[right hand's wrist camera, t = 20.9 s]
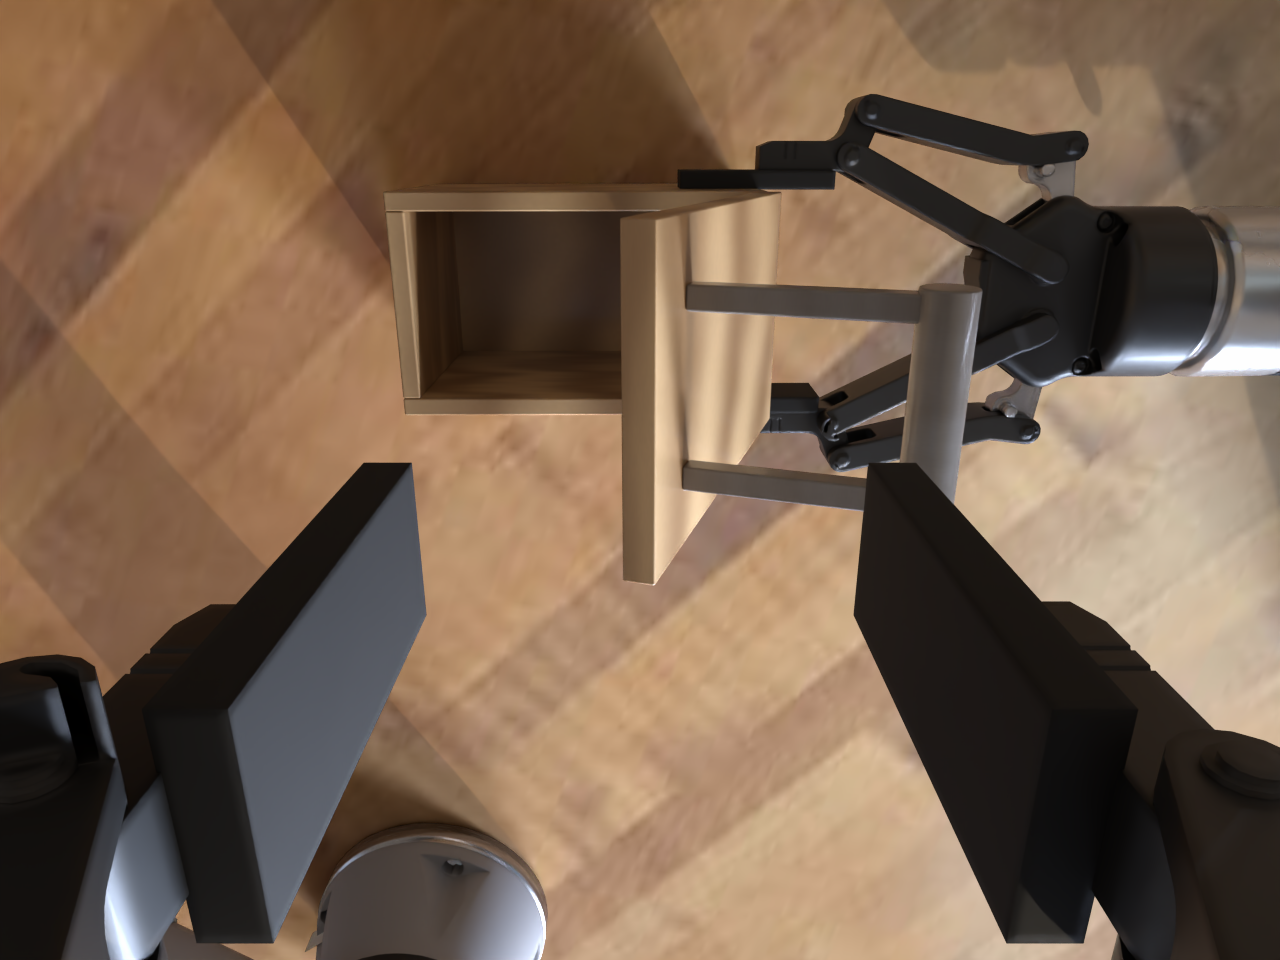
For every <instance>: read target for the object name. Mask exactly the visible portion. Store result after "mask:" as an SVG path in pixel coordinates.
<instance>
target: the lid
mask: <svg viewBox="0 0 1280 960" xmlns="http://www.w3.org/2000/svg"><path fill="white" fill-rule="evenodd" d="M780 210H781V192H756V193H751V194H745V195H740V196H735V197H729V198H724V199H719V200H713V201H708V202H703V203H698V204H692V205H687V206H682V207H676V208H671V209H666V210H660V211H655V212H650V213H644V214H639V215H634V216H629V217H623V218H621V219H620V273H621V390H622V507H623V580H624V581H628V582H634V583H641V584H647V585H655V584H656V582H657V581H658V579H659V578H660V577H661V575H662V574H663V572H664V571H665V569H666V568H667V566H668V565H669V564H670V562H671V561H672V559H673V558H674V556H675V555H676V553H677V552H678V550H679V549H680V548H681V546H682V545H683V543H684V542H685V540H686V539H687V537H688V536H689V535H690V533H691V532H692V530H693V529H694V527H695V526H696V524H697V523H698V521H699V520H700V519H701V517H702V516H703V514H704V513H705V511H706V510H707V508H708V507H709V506H710V504H711V503H712V501H713V500H714V498H715V497H716V495H717V494H720V495H728V496H737V497H745V498H754V499H762V500H771V501H780V502H788V503H797V504H805V505H814V506H822V507H831V508H839V509H848V510H856V511H864V502H865V492H866V481H867V479H865V478H856V477H847V476H837V475H828V474H818V473H809V472H800V471H790V470H781V469H771V468H762V467H753V466H743V465H738V463H739V462H740V461H741V459H742V458H743V456H744V455H745V453H746V452H747V450H748V449H749V448H750V446H751V445H752V443H753V442H754V440H755V439H756V437H757V436H758V434H759V433H760V432H761V430H762V429H763V427H764V426H765V424H766V423H767V421H768V420H769V418H770V399H771V381H772V362H773V343H774V324H775V316H780V317H798V318H817V319H835V320H854V321H872V322H891V323H909V324H915V326H914V335H913V345H912V354H911V363H910V372H909V381H908V391H907V400H906V409H905V418H904V427H903V436H902V446H901V455H900V463H917V464H918V465H919V466H920V468H921V469H922V470H923V471H924V472H925V473H926V474H927V475H928V476H929V478H930V479H931V480H932V481H933V482H934V483H935V484H936V485H937V486H938V488H939V489H940V490H941V491H942V492H943V493H944V494H945V495H946V496H947V498H948V499H949V500H950V501H951V502H952V503H953V504H954V500H955V492H956V485H957V478H958V470H959V463H960V455H961V448H962V440H963V433H964V425H965V418H966V411H967V403H968V396H969V388H970V381H971V373H972V366H973V358H974V351H975V344H976V336H977V329H978V321H979V314H980V306H981V299H982V289H981V288H979V287H976V286H971V285H963V284H944V283H939V284H926V285H922V286H920V287H919V290H918V291H911V290H888V289H864V288H841V287H818V286H795V285H777V267H778V248H779V229H780Z"/></svg>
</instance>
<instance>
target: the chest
mask: <svg viewBox="0 0 1280 960" xmlns="http://www.w3.org/2000/svg"><path fill="white" fill-rule="evenodd" d="M677 185H678V184H436V185H428V186H421V187H414V188H407V189H400V190H393V191H386V192H384V193H383V196H384V206H385V211H387V212H386V213H385V215H386V225H387V236H388V246H389V256H390V266H391V276H392V286H393V296H394V307H395V317H396V327H397V337H398V347H399V357H400V368H401V378H402V388H403V397H404V408H405V414H406V415H622V390H621V273H620V219H621V218H623V217H629V216H634V215H639V214H644V213H650V212H655V211H660V210H666V209H671V208H676V207H682V206H687V205H692V204H698V203H703V202H708V201H713V200H719V199H724V198H729V197H735V196H740V195H745V194H751V193H756V192H767V191H764V190H760V189H680V188H678V187H677Z"/></svg>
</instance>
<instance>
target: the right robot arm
mask: <svg viewBox="0 0 1280 960" xmlns="http://www.w3.org/2000/svg"><path fill="white" fill-rule="evenodd" d="M425 617H426V605H425V595H424V585H423V574H422V564H421V554H420V543H419V533H418V523H417V512H416V502H415V492H414V481H413V471H412V463H363V464H362V465H361V467H360V468H359V469H358V470H357V471H356V472H355V473H354V474H353V475H352V476H351V478H350V479H349V480H348V481H347V482H346V483H345V484H344V485H343V486H342V488H341V489H340V490H339V491H338V492H337V493H336V494H335V495H334V496H333V498H332V499H331V500H330V501H329V502H328V503H327V504H326V505H325V506H324V508H323V509H322V510H321V511H320V512H319V513H318V514H317V515H316V516H315V518H314V519H313V520H312V521H311V522H310V523H309V524H308V525H307V526H306V527H305V529H304V530H303V531H302V532H301V533H300V534H299V535H298V536H297V537H296V539H295V540H294V541H293V542H292V543H291V544H290V545H289V546H288V547H287V549H286V550H285V551H284V552H283V553H282V554H281V555H280V556H279V557H278V559H277V560H276V561H275V562H274V563H273V564H272V565H271V566H270V567H269V569H268V570H267V571H266V572H265V573H264V574H263V575H262V576H261V577H260V579H259V580H258V581H257V582H256V583H255V584H254V585H253V586H252V587H251V588H250V590H249V591H248V592H247V593H246V594H245V595H244V596H243V597H242V598H241V600H240V601H239V602H238V603H237V604H211V605H209V606H207V607H205V608H203V609H202V610H200V611H198V612H196V613H195V614H193V615H191V616H189V617H187V618H186V619H184V620H182V621H180V622H178V623H177V624H175V625H174V626H173V627H172V628H171V629H170V630H169V631H168V632H167V633H166V634H165V635H164V636H163V637H162V638H161V639H160V640H159V641H158V642H157V643H156V644H155V645H154V646H153V647H152V648H151V649H150V654H145V655H144V656H143V657H142V658H141V659H140V660H139V661H138V662H137V663H136V664H135V665H134V666H133V667H132V668H131V672H130V674H125V675H124V676H123V677H122V678H121V679H120V680H119V681H118V682H117V683H116V684H115V685H114V686H113V687H112V688H111V689H110V690H109V691H108V692H107V693H106V694H105V695H104V696H103V697H102V693H101V689H100V685H99V681H98V677H97V673H96V669H95V666H93V665H92V664H90V663H88V662H87V661H85V660H84V659H82V658H79V657H72V656H65V655H46V656H34V657H25V658H21V659H17V660H13V661H9V662H5V663H0V960H253V959H251V958H249V957H247V956H245V955H243V954H241V953H239V952H236V951H234V950H232V949H230V948H228V947H226V946H224V945H222V944H220V943H274V941H275V939H276V937H277V935H278V932H279V930H280V928H281V926H282V924H283V922H284V920H285V917H286V915H287V913H288V911H289V909H290V907H291V905H292V902H293V900H294V898H295V896H296V894H297V892H298V890H299V887H300V885H301V883H302V881H303V879H304V877H305V874H306V872H307V870H308V868H309V866H310V864H311V862H312V859H313V857H314V855H315V853H316V851H317V849H318V847H319V844H320V842H321V840H322V838H323V836H324V834H325V832H326V829H327V827H328V825H329V823H330V821H331V819H332V817H333V814H334V812H335V810H336V808H337V806H338V804H339V802H340V799H341V797H342V795H343V793H344V791H345V789H346V786H347V784H348V782H349V780H350V778H351V776H352V774H353V771H354V769H355V767H356V765H357V763H358V761H359V759H360V756H361V754H362V752H363V750H364V748H365V746H366V744H367V741H368V739H369V737H370V735H371V733H372V731H373V729H374V726H375V724H376V722H377V720H378V718H379V716H380V714H381V711H382V709H383V707H384V705H385V703H386V701H387V698H388V696H389V694H390V692H391V690H392V688H393V686H394V683H395V681H396V679H397V677H398V675H399V673H400V671H401V668H402V666H403V664H404V662H405V660H406V658H407V656H408V653H409V651H410V649H411V647H412V645H413V643H414V641H415V638H416V636H417V634H418V632H419V630H420V628H421V626H422V623H423V621H424V619H425ZM854 617H855V619H856V621H857V623H858V625H859V628H860V630H861V632H862V634H863V636H864V638H865V641H866V643H867V645H868V647H869V649H870V651H871V653H872V656H873V658H874V660H875V662H876V664H877V666H878V668H879V671H880V673H881V675H882V677H883V679H884V681H885V683H886V686H887V688H888V690H889V692H890V694H891V696H892V698H893V701H894V703H895V705H896V707H897V709H898V711H899V713H900V716H901V718H902V720H903V722H904V724H905V726H906V729H907V731H908V733H909V735H910V737H911V739H912V741H913V744H914V746H915V748H916V750H917V752H918V754H919V756H920V759H921V761H922V763H923V765H924V767H925V769H926V771H927V774H928V776H929V778H930V780H931V782H932V784H933V786H934V789H935V791H936V793H937V795H938V797H939V799H940V801H941V804H942V806H943V808H944V810H945V812H946V814H947V817H948V819H949V821H950V823H951V825H952V827H953V829H954V832H955V834H956V836H957V838H958V840H959V842H960V844H961V847H962V849H963V851H964V853H965V855H966V857H967V859H968V862H969V864H970V866H971V868H972V870H973V872H974V874H975V877H976V879H977V881H978V883H979V885H980V887H981V889H982V892H983V894H984V896H985V898H986V900H987V902H988V905H989V907H990V909H991V911H992V913H993V915H994V917H995V920H996V922H997V924H998V926H999V928H1000V930H1001V932H1002V935H1003V937H1004V939H1005V941H1006V943H1084V939H1085V935H1086V931H1087V926H1088V922H1089V918H1090V914H1091V909H1092V905H1093V901H1094V897H1096V899H1097V900H1098V902H1099V903H1100V905H1101V907H1102V908H1103V910H1104V912H1105V913H1106V915H1107V916H1108V918H1109V920H1110V921H1111V923H1112V925H1113V926H1114V928H1115V929H1116V931H1117V933H1118V935H1117V939H1116V943H1115V947H1114V951H1113V955H1112V959H1111V960H1280V747H1278V746H1275V745H1273V744H1271V743H1269V742H1267V741H1264V740H1261V739H1257V738H1253V737H1250V736H1246V735H1243V734H1239V733H1236V732H1232V731H1221V730H1214V729H1213V728H1212V727H1211V726H1210V725H1209V724H1208V723H1207V722H1206V721H1205V720H1204V719H1203V718H1202V717H1201V716H1200V715H1199V714H1198V713H1197V712H1196V711H1195V710H1194V709H1193V708H1192V707H1191V706H1190V705H1189V704H1188V703H1187V702H1186V701H1185V700H1184V699H1183V698H1182V697H1181V696H1180V695H1179V694H1178V693H1177V692H1176V691H1175V690H1174V689H1173V688H1172V687H1171V686H1170V685H1169V684H1168V683H1167V682H1166V681H1165V680H1164V679H1163V678H1162V677H1161V676H1160V675H1159V674H1158V673H1157V672H1156V671H1151V669H1150V665H1149V664H1148V663H1147V662H1146V661H1145V660H1144V659H1143V658H1142V657H1141V656H1140V655H1139V654H1138V653H1137V652H1136V651H1135V650H1131V649H1130V645H1129V644H1128V643H1127V642H1126V641H1125V640H1124V639H1123V638H1122V637H1121V636H1120V635H1119V634H1118V633H1117V632H1116V631H1115V630H1114V629H1113V628H1112V627H1111V626H1110V625H1109V624H1108V623H1107V622H1106V621H1104V620H1102V619H1100V618H1099V617H1097V616H1095V615H1093V614H1091V613H1090V612H1088V611H1086V610H1084V609H1082V608H1081V607H1079V606H1077V605H1075V604H1073V603H1072V602H1041V601H1040V600H1039V598H1038V597H1037V596H1036V595H1035V594H1034V593H1033V592H1032V591H1031V590H1030V588H1029V587H1028V586H1027V585H1026V584H1025V583H1024V582H1023V581H1022V580H1021V578H1020V577H1019V576H1018V575H1017V574H1016V573H1015V572H1014V571H1013V570H1012V569H1011V567H1010V566H1009V565H1008V564H1007V563H1006V562H1005V561H1004V560H1003V559H1002V557H1001V556H1000V555H999V554H998V553H997V552H996V551H995V550H994V549H993V547H992V546H991V545H990V544H989V543H988V542H987V541H986V540H985V539H984V537H983V536H982V535H981V534H980V533H979V532H978V531H977V530H976V529H975V527H974V526H973V525H972V524H971V523H970V522H969V521H968V520H967V519H966V518H965V516H964V515H963V514H962V513H961V512H960V511H959V510H958V509H957V508H956V506H955V505H954V504H953V503H952V502H951V501H950V500H949V499H948V498H947V496H946V495H945V494H944V493H943V492H942V491H941V490H940V489H939V488H938V486H937V485H936V484H935V483H934V482H933V481H932V480H931V479H930V478H929V476H928V475H927V474H926V473H925V472H924V471H923V470H922V469H921V468H920V466H919V465H918V464H917V463H868V471H867V481H866V492H865V502H864V512H863V523H862V533H861V543H860V554H859V564H858V575H857V585H856V595H855V606H854ZM185 900H186V901H187V905H188V909H189V913H190V918H191V922H192V926H193V930H194V931H192V930H190V929H188V928H186V927H184V926H182V925H180V924H177V919H176V918H175V916H176V915H177V913H178V911H179V910H180V908H181V906H182V905H183V903H184V901H185ZM546 927H547V904H546V899H545V895H544V892H543V889H542V887H541V885H540V883H539V881H538V879H537V877H536V876H535V874H534V873H533V871H532V870H531V869H530V868H529V866H528V865H527V864H526V863H525V862H524V861H523V860H522V859H521V858H520V857H519V856H518V855H517V854H516V853H514V852H513V851H512V850H511V849H509V848H508V847H506V846H505V845H503V844H502V843H500V842H498V841H497V840H495V839H493V838H491V837H489V836H487V835H484V834H482V833H479V832H477V831H474V830H470V829H467V828H463V827H459V826H454V825H447V824H437V823H418V824H408V825H402V826H397V827H393V828H390V829H386V830H384V831H381V832H378V833H376V834H374V835H372V836H370V837H368V838H366V839H364V840H363V841H361V842H359V843H358V844H357V845H355V846H354V847H353V848H352V849H350V850H349V851H348V852H347V853H346V854H345V855H344V856H343V858H342V859H341V860H340V861H339V863H338V864H337V866H336V867H335V869H334V871H333V873H332V875H331V877H330V879H329V882H328V884H327V886H326V889H325V891H324V893H323V896H322V899H321V902H320V906H319V911H318V919H317V931H315V932H313V934H312V936H311V938H310V941H309V943H308V946H307V948H306V950H305V952H306V951H308V950H309V949H311V948H313V947H315V946H316V945H317V952H316V960H540V958H541V955H542V952H543V948H544V942H545V935H546Z"/></svg>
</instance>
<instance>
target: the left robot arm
mask: <svg viewBox="0 0 1280 960" xmlns="http://www.w3.org/2000/svg"><path fill="white" fill-rule="evenodd" d="M844 115H845V116H844V118H843V121H842V123H841V126H840V128H839V130H838V132H837V133H836V135H835V136H834V137H832V138H831V139H829V140H827V141H769V142H766V143H763V144H761V145H758V146H756V159H755V170H678V185H677V187H678V188H680V189H834V187H835V174H836V172H838V173H840V174H842V175H844V176H845V177H847V178H849V179H851V180H852V181H854V182H856V183H858V184H860V185H861V186H863V187H865V188H867V189H868V190H870V191H872V192H874V193H876V194H877V195H879V196H881V197H883V198H884V199H886V200H888V201H890V202H892V203H893V204H895V205H897V206H899V207H900V208H902V209H904V210H906V211H908V212H909V213H911V214H913V215H915V216H916V217H918V218H920V219H922V220H924V221H925V222H927V223H929V224H931V225H932V226H934V227H936V228H938V229H940V230H941V231H943V232H945V233H947V234H948V235H949V236H950V237H952V238H954V239H955V240H957V241H959V242H961V243H963V244H964V245H966V246H968V247H970V248H971V249H973V250H972V252H971V254H970V256H965V263H964V271H963V274H964V282H965V285H971V286H976V287H979V288H981V289H982V299H981V306H980V314H979V321H978V329H977V336H976V344H975V351H974V358H973V366H972V373H971V375H973V374H976V373H978V372H980V371H983V370H985V369H987V368H989V367H991V366H993V365H995V364H997V365H998V366H999V367H1000V368H1002V369H1003V370H1004V371H1006V372H1007V373H1008V374H1009V375H1011V376H1012V377H1013V378H1014V381H1013V383H1012V385H1011V386H1010V387H1009V388H1007V389H1006V390H1004V391H998V392H994V393H992V394H990V395H988V396H987V398H986V401H985V403H979V402H976V403H967V411H966V418H965V425H964V433H963V440H962V446H964V445H969V444H974V443H978V442H983V441H987V440H993V441H1002V442H1011V443H1020V444H1029V443H1032V442H1034V441H1035V440H1036V439H1037V438H1038V437H1039V435H1040V429H1041V428H1040V425H1039V424H1038V423H1037V422H1036V421H1035V420H1033V417H1034V413H1035V410H1036V406H1037V403H1038V399H1039V396H1040V392H1041V389H1042V387H1043V386H1047V385H1049V384H1051V383H1053V382H1055V381H1057V380H1059V379H1062V378H1065V377H1070V376H1161V375H1164V374H1167V373H1170V374H1172V375H1174V376H1262V375H1280V207H1243V206H1205V207H1195V208H1193V209H1190V210H1188V209H1186V208H1183V207H1178V206H1091V205H1089V204H1087V203H1085V202H1083V201H1082V200H1080V199H1079V198H1077V197H1074V185H1075V166H1076V160H1079V159H1080V158H1082V157H1083V156H1084V155H1085V153H1086V152H1087V149H1088V145H1089V143H1088V138H1087V136H1086V135H1085V134H1084V133H1083V132H1081V131H1062V132H1047V133H1039V134H1031V135H1029V134H1025V133H1022V132H1018V131H1014V130H1010V129H1006V128H1003V127H999V126H995V125H991V124H987V123H984V122H980V121H976V120H972V119H968V118H965V117H961V116H957V115H953V114H950V113H946V112H942V111H938V110H934V109H931V108H927V107H923V106H919V105H915V104H912V103H908V102H904V101H900V100H896V99H893V98H889V97H885V96H881V95H877V94H869V95H866V96H862V97H858V98H855V99H853V100H851V101H850V102H849V103H848V104H847V106H846V108H845V114H844ZM874 133H879V134H883V135H886V136H890V137H894V138H898V139H902V140H906V141H909V142H913V143H917V144H921V145H925V146H929V147H933V148H936V149H940V150H944V151H948V152H952V153H956V154H960V155H963V156H967V157H971V158H975V159H979V160H983V161H986V162H990V163H995V164H1001V165H1019V168H1018V171H1019V176H1020V178H1021V179H1022V181H1024V182H1026V183H1031V184H1035V185H1037V186H1038V187H1039V188H1040V190H1041V192H1042V198H1041V199H1039V200H1038V201H1036V202H1035V203H1033V204H1032V205H1030V206H1029V207H1027V208H1026V209H1024V210H1023V211H1022V212H1020V213H1019V214H1017V215H1016V216H1014V217H1013V218H1011V219H1010V220H1008V221H1007V222H1005V223H1002V222H1001V221H999V220H997V219H995V218H993V217H991V216H989V215H986V214H984V213H982V212H980V211H978V210H976V209H975V208H973V207H971V206H969V205H968V204H966V203H964V202H962V201H961V200H959V199H957V198H955V197H954V196H952V195H950V194H948V193H947V192H945V191H943V190H941V189H940V188H938V187H936V186H934V185H933V184H931V183H929V182H927V181H926V180H924V179H922V178H920V177H919V176H917V175H915V174H913V173H912V172H910V171H908V170H906V169H905V168H903V167H901V166H899V165H898V164H896V163H894V162H892V161H891V160H889V159H887V158H885V157H884V156H882V155H880V154H878V153H877V152H875V151H873V150H871V149H870V148H868V147H869V145H870V143H871V140H872V138H873V136H874ZM910 363H911V354H910V355H907V356H905V357H903V358H901V359H899V360H897V361H895V362H893V363H891V364H889V365H887V366H885V367H882V368H880V369H878V370H876V371H874V372H872V373H870V374H868V375H866V376H864V377H862V378H859V379H857V380H855V381H853V382H851V383H849V384H847V385H845V386H843V387H841V388H839V389H836V390H834V391H832V392H830V393H828V394H826V395H824V396H822V397H820V398H819V396H818V395H817V394H816V392H815V391H814V390H813V388H812V387H811V386H810V384H809V383H771V399H770V418H769V420H768V421H767V423H766V424H765V426H764V427H763V429H762V430H761V432H760V433H811V434H814V435H816V436H817V437H818V441H819V444H820V449H821V452H822V453H823V455H824V456H825V458H826V460H827V461H828V463H829V465H830V466H831V468H832V469H834V470H835V471H838V472H845V471H850V470H855V469H859V468H864V467H868V463H887V462H891V461H896V460H900V455H901V446H902V436H903V427H904V418H905V417H900V418H896V419H891V420H887V421H882V422H878V423H873V424H869V425H864V426H860V427H855V428H852V427H854V426H856V425H858V424H860V423H862V422H864V421H867V420H869V419H871V418H873V417H875V416H877V415H879V414H881V413H884V412H886V411H888V410H890V409H892V408H894V407H896V406H899V405H901V404H903V403H905V402H906V400H907V391H908V381H909V372H910ZM850 428H851V429H850Z"/></svg>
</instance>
